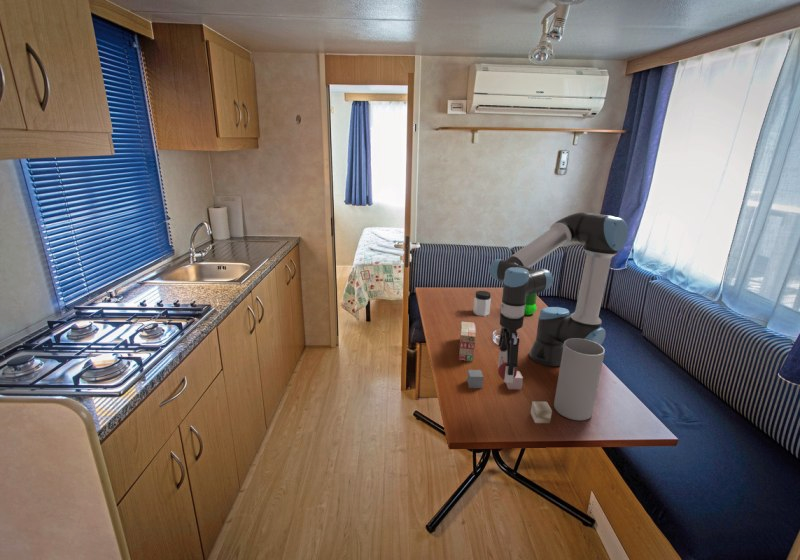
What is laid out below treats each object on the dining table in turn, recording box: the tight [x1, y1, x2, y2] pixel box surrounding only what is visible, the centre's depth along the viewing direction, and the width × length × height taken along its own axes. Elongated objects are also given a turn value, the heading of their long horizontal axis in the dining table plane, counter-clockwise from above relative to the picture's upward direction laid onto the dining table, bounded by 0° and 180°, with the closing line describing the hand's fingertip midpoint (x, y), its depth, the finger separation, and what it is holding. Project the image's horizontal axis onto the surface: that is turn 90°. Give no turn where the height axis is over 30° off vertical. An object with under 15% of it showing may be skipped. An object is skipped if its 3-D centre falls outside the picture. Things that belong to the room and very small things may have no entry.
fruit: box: [497, 357, 518, 380], centre depth 141 cm, size 6×6×8 cm
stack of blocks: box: [458, 321, 477, 362], centre depth 184 cm, size 21×6×12 cm, turn 170°
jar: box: [472, 290, 492, 317], centre depth 226 cm, size 9×8×12 cm
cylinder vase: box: [553, 338, 606, 421], centre depth 140 cm, size 12×12×25 cm
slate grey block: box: [466, 369, 484, 389], centre depth 157 cm, size 5×5×5 cm
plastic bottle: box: [524, 293, 538, 316], centre depth 226 cm, size 10×10×25 cm
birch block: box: [530, 400, 553, 424], centre depth 138 cm, size 5×5×5 cm
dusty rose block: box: [504, 370, 524, 390], centre depth 157 cm, size 5×5×5 cm
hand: (505, 374), depth 142 cm, fingers closed on fruit, 8 cm apart
